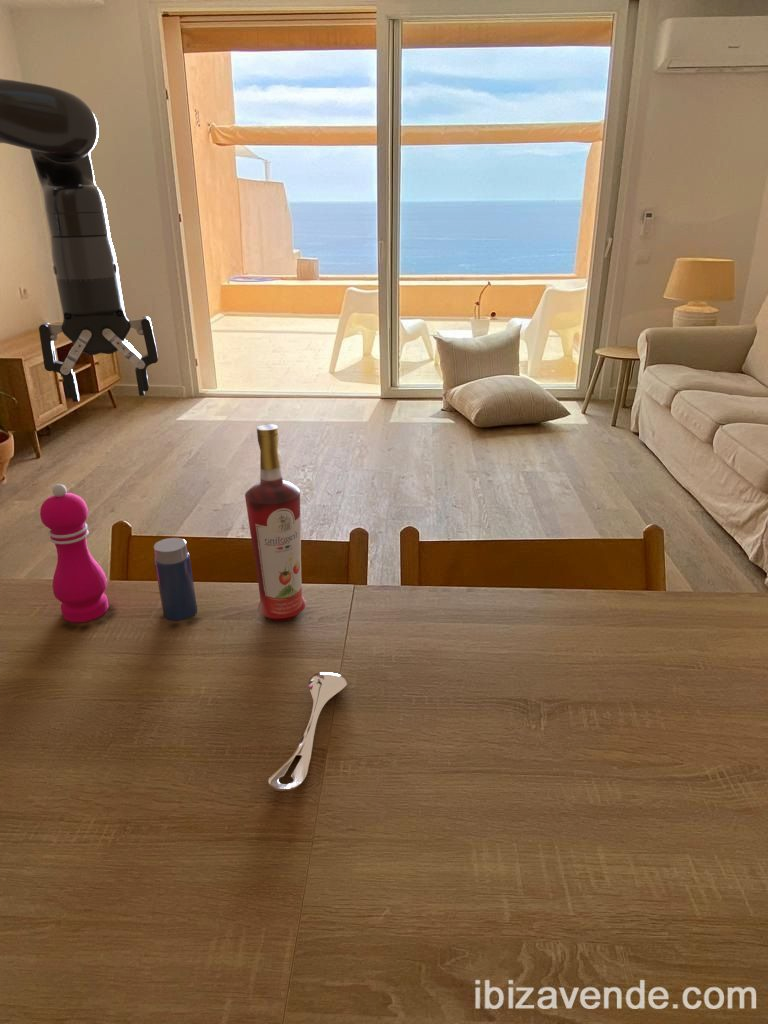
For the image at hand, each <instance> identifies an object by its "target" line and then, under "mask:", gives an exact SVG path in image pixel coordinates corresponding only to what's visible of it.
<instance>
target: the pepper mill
mask: <svg viewBox="0 0 768 1024" xmlns="http://www.w3.org/2000/svg"><path fill="white" fill-rule="evenodd" d="M51 492H52V494H53V495H51V496H49V497H47V498H46V499H45V500H44V501H43V503H42V504H41V506H40V510H39V515H40V516H39V517H40V520H41V523H42V524H43V525H44V527H46V528H47V529H48V531H47V533H48V535H49V541H50V542H51V543H52V544H54V546H55V549H56V554H57V562H56V567H55V570H54V574H53V578H52V593H53V595H54V598H56V600H58V601H59V602H61V603H60V609H61V614H62V617H63V619H64V620H65V621H67V622H69V623H85V622H91V621H94V620H97V619H98V618H100V617H102V616H103V615H105V613H107V612H108V609H109V602H108V601H109V600H108V596H107V595H106V593H105V592H106V590H107V587H108V579H107V576H106V574H105V571H104V570H103V568H102V567H101V566H100V564H99V563H98V562H97V561H96V560H95V558H94V557H93V556H92V554H91V552H90V550H89V547H88V541H87V537H89V533H90V531H89V530H88V524H87V523H86V521H87V519H88V516H89V509H88V505H87V503H86V501H85V500H84V498H82V497H81V496H80V495H77V494H76V493H71V492H68V489H67V487H66V486H65V485H64V484H61V483H58V484H57V483H56V484H55V485H54V486H53V487H52V489H51Z"/></svg>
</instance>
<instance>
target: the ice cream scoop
mask: <svg viewBox="0 0 768 1024" xmlns="http://www.w3.org/2000/svg"><path fill="white" fill-rule="evenodd" d="M349 682H350V681H349V679H348V678H347V677H346V676H344V675H343V674H341V673H337V672H332V671H319V672H316V673H314V674H313V675H311V676H310V678H309V679H308V689H309V691H310V694H311V697H312V709H311V714H310V718H309V721H308V724H307V727H306V728H305V730H304V733H303V734H302V737H301V739H300V740H299V742H298V744H297V745H296V747H295V748H294V750H293V751H292V752H291V754H290V755H289V756H288V757H287V758H286V760H284V761H283V762H282V763H281V764H280V765H279V766H278V767H277V768H276V769H275V770H274V771H273V772H272V773H271V774H270V776H269V777H268V785H269V787H270V789H271V788H272V789H273V790H274V791H277V792H288V791H294V790H295V789H298V788H299V787H300V786H301V785H302V784H303V782H304V781H305V779H306V777H307V775H308V773H309V768H310V765H311V759H312V751H313V745H314V737H315V732H316V727H317V723H318V720H319V717H320V714H321V712H322V709H323V708H324V706H325V705H326V704H327V702H329V700H331V699H332V698H333V697H334V696H335V695H337V694H338V693H340V692H341V691H342V690H343V689H344V688H345V687H346V686H347V685H348V683H349ZM296 757H300V758H299V760H298V762H297V764H296V766H295V768H294V769H293V771H292V773H291V775H290V779H292V781H291V782H289V783H281V782H280V781H279V780H280V779H282V778H285V777H286V774H287V773H288V771H289V769H290V767H291V766H292V764H293V763H294V761H295V759H296Z"/></svg>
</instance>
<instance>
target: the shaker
mask: <svg viewBox="0 0 768 1024" xmlns="http://www.w3.org/2000/svg"><path fill="white" fill-rule="evenodd" d="M153 553H154V559H153V562H154V567H155V574H156V579H157V586H158V591H159V598H160V603H161V609H162V615H163V617H164V619H166V620H168V621H175V622H176V621H177V622H178V621H179V622H180V621H185V620H188V619H190V618H192V617H193V616H194V615H196V613H197V612H198V605H197V597H196V591H195V584H194V576H193V569H192V564H191V563H192V562H191V556H190V555H191V554H190V553H189V551H188V546H187V541H186V540H185V539H184V538H181V537H167V538H163V539H161V540H159V541H157V542H155V544H153Z"/></svg>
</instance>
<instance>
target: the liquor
mask: <svg viewBox="0 0 768 1024" xmlns="http://www.w3.org/2000/svg"><path fill="white" fill-rule="evenodd" d="M256 434H257V435H256V437H257V442H258V446H259V451H260V459H259V462H260V463H259V464H260V468H259V469H260V471H259V472H260V474H259V475H260V476H259V477H260V479H259V482H257V483H254V484H253V485H252V486H251V487H250V488H248V490H247V491H245V493H244V498H245V506H246V512H247V519H248V526H249V532H250V538H251V543H252V550H253V557H254V562H255V571H256V576H257V585H258V592H259V593H258V594H259V603H258V605H257V610H258V612H259V613H260V614H261V615H262V616H264V617H266V618H267V619H269V620H271V621H273V622H279V623H281V622H287V621H291V620H293V619H294V618H295V617H297V616H298V615H299V614H301V612H303V611H304V610H305V608H306V606H307V602H306V599H305V598H304V597H303V581H302V579H303V578H302V518H301V517H302V515H301V489H300V488H299V487H298V486H296V485H295V484H293V483H292V482H290V481H287V480H284V478H283V472H282V467H281V461H280V456H279V450H278V448H279V426H278V425H277V424H272V423H267V424H266V423H265V424H260V425H258V426H256Z"/></svg>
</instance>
